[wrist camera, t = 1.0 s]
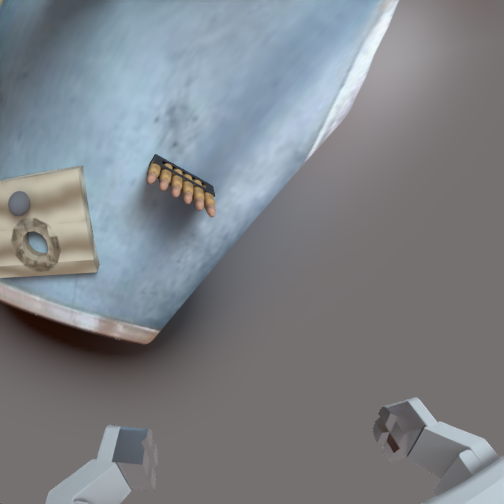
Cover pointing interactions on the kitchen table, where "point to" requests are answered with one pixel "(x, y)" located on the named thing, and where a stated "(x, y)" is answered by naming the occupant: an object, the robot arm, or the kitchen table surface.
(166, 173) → the ammunition clip
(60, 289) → the kitchen table surface
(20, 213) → the ball
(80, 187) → the board
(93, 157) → the kitchen table surface
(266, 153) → the kitchen table surface
